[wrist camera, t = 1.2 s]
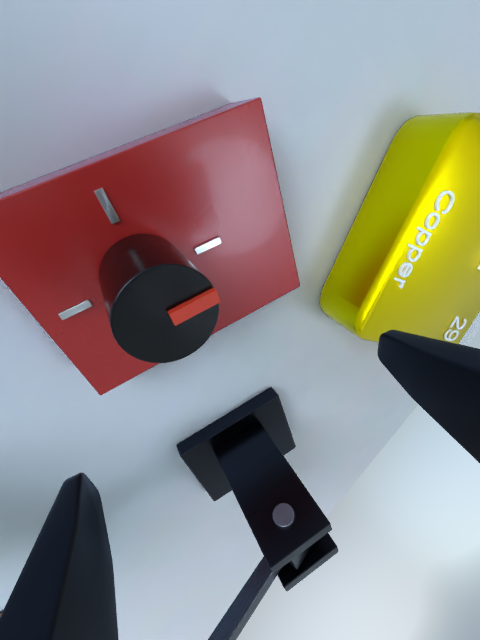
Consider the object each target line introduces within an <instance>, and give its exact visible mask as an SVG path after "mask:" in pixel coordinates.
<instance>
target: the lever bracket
mask: <svg viewBox="0 0 480 640" xmlns="http://www.w3.org/2000/svg"><path fill="white" fill-rule="evenodd" d="M295 447H296V446H295V443H294V440H293V437H292V434H291V431H290V428H289V425H288V422H287V419H286V416H285V413H284V410H283V408H282V405H281V402H280V399H279V396H278V394H277V393H276V392H275V391H274V389H273V388H272V387H270V388H269V389H267V390H265V391H264V392H262V393H261V394H259V395H257V396H256V397H254V398H252V399H251V400H249V401H247V402H246V403H244V404H243V405H241V406H239V407H238V408H236V409H234V410H233V411H231V412H230V413H228V414H226V415H225V416H223V417H221V418H220V419H218V420H216V421H215V422H213V423H212V424H210V425H208V426H207V427H205V428H203V429H202V430H200V431H198V432H197V433H195V434H194V435H192V436H190V437H189V438H187V439H185V440H184V441H182V442H180V443H179V444H177V448H178V451H179V454H180V456H181V458H182V459H183V460H184V462H185V463H186V464H187V466H188V467H189V468H190V470H191V471H192V472H193V474H194V475H195V476H196V478H197V479H198V480H199V482H200V483H201V484H202V486H203V487H204V488H205V490H206V491H207V492H208V494H209V495H210V496H211V498H212V499H213V500H214V501H216V500H218V499H219V498H221V497H222V496H224V495H225V494H227V493H228V492H230V491H231V490H233V492H234V495H235V497H236V499H237V501H238V503H239V505H240V507H241V509H242V511H243V513H244V515H245V517H246V519H247V522H248V524H249V526H250V528H251V530H252V532H253V534H254V536H255V538H256V540H257V542H258V544H259V546H260V549H261V551H262V553H263V555H264V557H265V559H266V561H267V563H268V565H269V567H270V569H271V570H272V572H273V573H275V572H276V571H278V570H279V569H280V568H281V570H280V571H279V573H278V574H277V575H278V577H279V579H280V581H281V583H282V585H283V587H284V588H285V590H286V591H288V590H290V589H291V588H292V587H293V586H295V585H296V584H297V583H299V582H300V581H301V580H303V579H304V578H305V577H306V576H307V575H309V574H310V573H311V572H313V571H314V570H315V569H317V568H318V567H319V566H321V565H322V564H323V563H324V562H326V561H327V560H328V559H330V558H331V557H332V556H333V555H335V554H336V553H337V552H338V548H337V546H336V544H335V543H334V541H333V540H332V538H331V537H330V535H329V534H328V532H330V531H331V530H332V528H331V525H330V522H329V521H328V519H327V518H326V516H325V515H324V514H323V512H322V511H321V509H320V508H319V506H318V505H317V503H316V502H315V501H314V499H313V498H312V496H311V495H310V493H309V492H308V490H307V489H306V488H305V486H304V485H303V483H302V482H301V480H300V479H299V477H298V476H297V475H296V473H295V472H294V470H293V469H292V467H291V466H290V465H289V463H288V462H287V460H286V459H285V457H284V456H283V455H285V454H286V453H288V452H289V451H291V450H292V449H294V448H295ZM312 544H313V545H312ZM311 545H312V547H311V548H310V550H309V552H308V553H307V555H306V557H305V558H304V560H303V561H302V563H301V565H300V566H299V568H298V569H295V568H294V567H293V566H292V565H291V564H290V563H289V562H290V561H291V560H292V559H294V558H295V557H296V556H298V555H299V554H300V553H302V552H303V551H304V550H306V549H307V548H308V547H310V546H311Z"/></svg>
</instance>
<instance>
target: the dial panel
mask: <svg viewBox="0 0 480 640" xmlns="http://www.w3.org/2000/svg"><path fill="white" fill-rule="evenodd" d="M134 234H152V235H156V236H160V237H162V238H164V239H166V240H167V241H169V242H170V243H172V244H173V245H174V246H175V247H176V248H177V249H178V250H179V251H180V252H181V253H182V254H183V255H184V256H185V257H186V258H187V259H188V260H189V261H190V262H191V263H192V264H193V265H194V266H195V267H196V268H198V269H199V270H200V271H201V272H202V273H203V274H204V275H205V276H206V277H207V278H208V279H209V281H210V282H211V283H212V285H213V286H214V288H215V289H216V290H217V293H218V295H219V298H220V300H221V302H220V303H219V315H218V320H217V323H216V326H215V328H214V330H213V332H212V334H214V333H215V332H217V331H219V330H221V329H223V328H225V327H226V326H228V325H230V324H232V323H234V322H235V321H237V320H239V319H241V318H243V317H245V316H246V315H248V314H250V313H252V312H254V311H256V310H257V309H259V308H261V307H263V306H265V305H266V304H268V303H270V302H272V301H274V300H276V299H277V298H279V297H281V296H283V295H285V294H287V293H288V292H290V291H292V290H294V289H296V288H297V287H299V286H300V283H299V278H298V274H297V269H296V264H295V259H294V254H293V250H292V245H291V240H290V235H289V230H288V226H287V221H286V216H285V211H284V206H283V202H282V197H281V192H280V187H279V182H278V178H277V173H276V168H275V163H274V158H273V154H272V149H271V144H270V139H269V134H268V130H267V125H266V120H265V115H264V110H263V106H262V101H261V98H254V99H249V100H244V101H239V102H234V103H231V104H228V105H225V106H223V107H220V108H218V109H215V110H212V111H210V112H207V113H205V114H202V115H200V116H197V117H194V118H192V119H189V120H187V121H184V122H182V123H179V124H176V125H174V126H171V127H169V128H166V129H163V130H161V131H158V132H156V133H153V134H151V135H148V136H145V137H143V138H140V139H138V140H135V141H133V142H130V143H127V144H125V145H122V146H120V147H117V148H114V149H112V150H109V151H107V152H104V153H102V154H99V155H96V156H94V157H91V158H89V159H86V160H83V161H81V162H78V163H76V164H73V165H71V166H68V167H65V168H63V169H60V170H58V171H55V172H53V173H50V174H47V175H45V176H42V177H40V178H37V179H34V180H32V181H29V182H27V183H24V184H22V185H19V186H16V187H14V188H11V189H9V190H6V191H4V192H1V193H0V278H1V279H2V280H3V281H4V282H5V284H6V285H7V286H8V287H9V288H10V289H11V291H12V292H13V293H14V294H15V295H16V297H17V298H18V299H19V300H20V301H21V302H22V304H23V305H24V306H25V307H26V308H27V309H28V311H29V312H30V313H31V314H32V315H33V317H34V318H35V319H36V320H37V321H38V322H39V324H40V325H41V326H42V327H43V328H44V330H45V331H46V332H47V333H48V334H49V335H50V337H51V338H52V339H53V340H54V341H55V343H56V344H57V345H58V346H59V347H60V348H61V350H62V351H63V352H64V353H65V354H66V355H67V357H68V358H69V359H70V360H71V361H72V363H73V364H74V365H75V366H76V367H77V368H78V370H79V371H80V372H81V373H82V374H83V376H84V377H85V378H86V379H87V380H88V381H89V383H90V384H91V385H92V386H93V387H94V389H95V390H96V391H97V392H98V393H99V394H100V395H102V394H104V393H106V392H108V391H110V390H111V389H113V388H115V387H117V386H119V385H121V384H122V383H124V382H126V381H128V380H130V379H131V378H133V377H135V376H137V375H139V374H141V373H142V372H144V371H146V370H148V369H150V368H152V367H153V366H155V365H157V364H159V363H150V362H145V361H142V360H139V359H136V358H134V357H132V356H131V355H129V354H128V353H126V352H125V351H124V350H123V349H122V348H121V347H120V346H119V345H118V343H117V342H116V340H115V338H114V336H113V334H112V331H111V327H110V323H109V319H108V315H107V311H106V307H105V303H104V299H103V295H102V291H101V288H100V283H99V267H100V263H101V261H102V258H103V256H104V255H105V253H106V252H107V250H108V249H109V248H110V247H111V246H112V245H113V244H114V243H116V242H117V241H119V240H121V239H122V238H124V237H127V236H130V235H134ZM212 334H211V335H212Z"/></svg>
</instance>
